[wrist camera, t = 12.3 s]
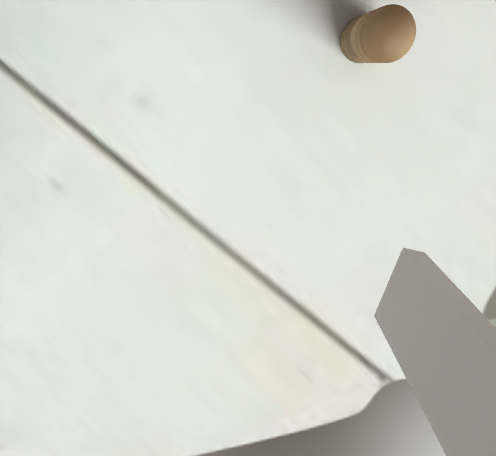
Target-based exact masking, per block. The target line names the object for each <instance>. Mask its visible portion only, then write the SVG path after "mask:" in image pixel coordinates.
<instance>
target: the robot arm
mask: <svg viewBox="0 0 496 456" xmlns="http://www.w3.org/2000/svg"><path fill="white" fill-rule="evenodd" d="M374 316H375V318H376V320H377V322H378V324H379V326H380V328H381V330H382V332H383V334H384V336H385V338H386V340H387V341H388V343H389V345H390V347H391V349H392V351H393V353H394V355H395V357H396V359H397V361H398V363H399V365H400V367H401V369H402V371H403V373H404V375H405V376H406V378H407V380H408V382H409V384H410V386H411V388H412V390H413V392H414V394H415V396H416V398H417V400H418V402H419V404H420V405H421V408H422V409H423V411H424V413H425V415H426V417H427V419H428V421H429V423H430V425H431V427H432V429H433V431H434V433H435V435H436V437H437V439H438V441H439V443H440V444H441V446H442V448H443V450H444V452H445V454H446V456H496V328H495V327H494V326H493V325H492V324H491V322H490V321H489V320H488V319H487V318H486V317H485V316H484V315H483V314H482V313H481V312H480V311H479V310H478V309H477V308H476V307H475V306H474V304H473V303H472V302H471V301H470V300H469V299H468V298H467V297H466V296H465V295H464V294H463V293H462V292H461V291H460V290H459V289H458V288H457V286H456V285H455V284H454V283H453V282H452V281H451V280H450V279H449V278H448V277H447V276H446V275H445V274H444V273H443V272H442V271H441V270H440V268H439V267H438V266H437V265H436V264H435V263H434V262H433V261H432V260H431V259H430V258H429V257H428V256H427V255H426V254H425V253H424V252H420V251H415V250H411V249H406V248H403V249H402V251H401V254H400V256H399V259H398V261H397V263H396V266H395V268H394V270H393V273H392V275H391V277H390V280H389V282H388V284H387V287H386V289H385V292H384V294H383V296H382V299H381V301H380V303H379V306H378V308H377V310H376V313H375V315H374Z"/></svg>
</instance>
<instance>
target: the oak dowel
mask: <svg viewBox="0 0 496 456" xmlns="http://www.w3.org/2000/svg"><path fill="white" fill-rule="evenodd" d="M415 35H416V25H415V21H414V18H413V16H412V14H411V13H410V12H409V11H408V10H407V9H406V8H404V7H402V6H400V5H395V4H391V5H386V6H383V7H380V8H378V9H376V10H373V11H371V12H369V13H366V14H364V15H362V16H359V17H357V18H355V19H353V20H351V21H350V22H349V23H348V24H347V25H346V27H345V28H344V30H343V32H342V35H341V48H342V51H343V53H344V55H345V56H346V57H347V58H348V59H349V60H351V61H353V62H356V63H390V62H394V61H396V60H398V59H400V58H402V57H403V56H404V55H405V54H406V53H407V52H408V51H409V50H410V48H411V46H412V44H413V42H414V39H415Z"/></svg>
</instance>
